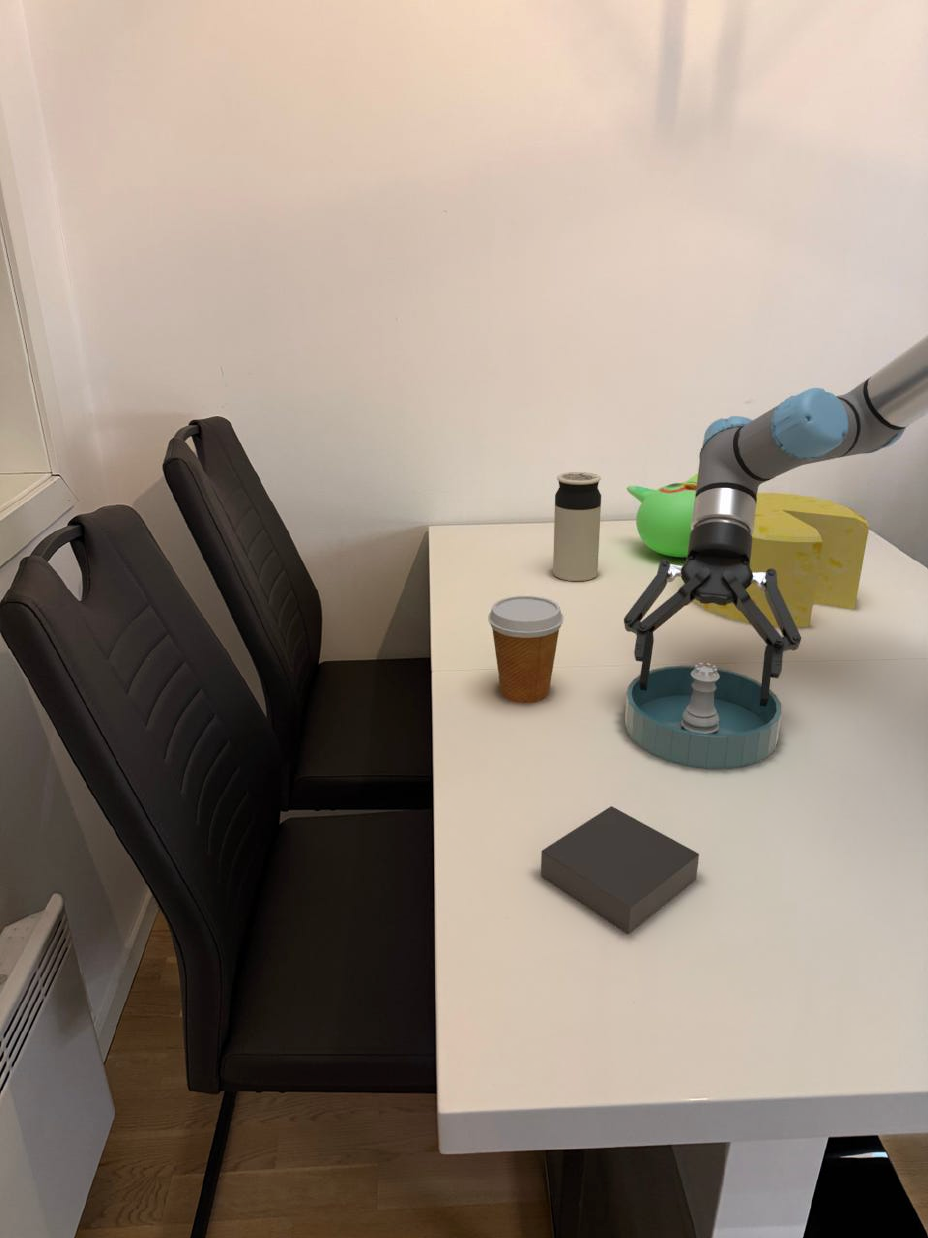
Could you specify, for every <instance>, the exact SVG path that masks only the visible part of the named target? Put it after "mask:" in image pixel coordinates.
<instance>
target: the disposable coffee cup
mask: <svg viewBox="0 0 928 1238" xmlns="http://www.w3.org/2000/svg"><path fill="white" fill-rule="evenodd" d="M490 610H491V611H490V612H489V614H488V615H487V619H488V623H489V625H490V627H491V629H492V635H493V645H494V651H495V657H496V658H495V659H496V665H497V672H498V680H499V687H500V694H501V696H502V697H503V698H504V699H506V700H508V701H510V702H514V703H518V704H534V703H538V702H540V701H543V700H545V699H546V698H547V697H548V696H549V695H550V694H549V693H550V690H551V689H550V688H551V681H552V676H553V669H554V663H555V657H556V651H557V645H558V638H559V634H560V629H561V627H562V624H563V622H564V619H565V618H564V615H563V613H562V612H561V607H560V605H559V604H558V603H557V602H556V601H554V600H552V599H549V598H545V597H542V596H535V595H515V596H509V597H505V598H502V599H500V600H497V601H495V603H493V604H492V606H491V609H490Z"/></svg>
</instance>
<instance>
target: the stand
mask: <svg viewBox="0 0 928 1238" xmlns="http://www.w3.org/2000/svg"><path fill="white" fill-rule="evenodd" d="M540 852H541V853H540V854H541V855H540V856H541V857H540V877H541V878H543V879H544V880H545V881H547V882H549V883H550V884H552V885H553V886H554V887H556V888H558V889H559V890H561V891H562V892H563V893H565V894H567V895H568V896H570V897H571V898H573V899H574V900H576V901H577V902H578V903H580V904H581V905H583V906H585V907H586V908H587V909H589V910H590V911H592V912H593V913H595V914H596V915H598V916H600V917H601V918H602V919H604V920H606V921H607V922H608V923H610V924H611V925H613V926H615V928H617V929H619V930H620V931H622V932H623V933H625V934H626V935H630V934H631V933H632V932H634V931H635V930H636V929H637V928H638V927H640V926H641V925H642V924H643V923H645V922H646V921H647V920H648V919H650V918H651V917H652V916H654V915H655V914H656V913H657V912H658V911H659V910H661V909H662V908H663V907H665V906H666V905H667V904H668V903H669V902H671V901H672V900H673V899H675V897H677V896H678V895H679V894H681V893H682V892H683V891H685V889H687V888H688V887H690V886H691V885H692V884H693V883H694V882H696V881H697V878H698V869H699V859H700V854H699V853H698V852H696V851H694V850H693V849H691V848H690V847H688V846H685V845H683V844H682V843H680V842H678V841H676V840H675V839H674V838H671V837H669V836H668V835H666V834H664V833H662V832H660V831H658V830H656V829H654V828H653V827H651V826H649V825H647V824H645V823H644V822H641V820H640V821H639V820H638V819H636V818H634V817H632V816H630V815H629V814H627V813H625V812H623V811H621V810H620V809H618V808H616V807H614V806H613V805H611V806H609V807H607V808H606V809H604V810H603V811H601V812H600V813H598V814H597V815H595V816H593V817H592V818H590V819H589V820H587V821H586V822H584V823H582V824H581V825H579V826H577V827H576V828H575V829H573V830H572V831H570V832H568V833H567V834H565V835H564V836H562V837H561V838H559V839H557V840H556V841H554V842H553V843H551V844H550V845H548V846H547V847H545V848H543V849H542V850H541V851H540Z"/></svg>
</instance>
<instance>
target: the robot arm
mask: <svg viewBox="0 0 928 1238" xmlns="http://www.w3.org/2000/svg"><path fill="white" fill-rule="evenodd" d="M926 415H928V334H927V335H926V336H924V337H923V338H922V339H920V340H919V341H917V342H916V343H915V344H913V345H912V346H910V347H909V348H908V349H906V350H905V351H903V352H902V353H901V354H900V355H898V356H896V357H895V358H894V359H893V360H891V361H890V362H888V363H887V364H886V365H884V366H883V367H882V368H880V369H879V370H877V371H876V372H875V373H873V374H872V375H871V376H870V377H869V378H867V379H865V380H863V381H862V382H861V383H859V384H858V385H857V386H855V387H854V388H853V389H851V390H850V391H848V392H847V393H844V394H840V395H835V394H834V393H832V392H829V391H826V390H825V389H824V388H821V387H812V388H808V389H806V390H804V391H802V392H800V393H798V394H796V395H791V396H788V397H787V398H786V399H784V400H783V401H781V402H780V403H779V404H778V405H776V406H775V407H773V408H771V409H770V410H768V411H765V412H764V413H763V414H761V415H759V416H758V417H756V418H754V419H752V418H748V417H745V416H739V415H730V416H729V417H728V418H721V417H720V418H718V419H717V420H714V421H713V422H712V423H710V424H709V426H708V427H707V428H706V430H705V432H704V434H703V436H704V437H703V441H702V446H701V447H700V451H699V456H698V457H699V463H698V471H697V474H698V479H697V487H696V495H695V496H696V497H695V500H694V508H693V516H692V523H691V529H692V531H691V533H690V539H689V546H688V554H687V558H686V560H685V562H684V563H683V565H677V564H673V563H671V562H670V560H668V559H667V558H665V559H661V560H660V562H659V565H658V569H657V573H656V575H655V576H654V577H653V579H651V581H650V583H649V584H648V585H647V587H646V589H645V590H644V591H643V592H642V594H641V595H640V596H639V597H638V599H637V600H636V601H635V602H634V603H633V605H632V606H631V608H630V609H629V610H628V612H627V613H626V615H625V616H624V618H623V625H624V630H625V632H628V633H633V634H635V635H636V638H635V646H634V651H633V654H634V659H635V661H636V662H641V668H640V674H639V676H640V681H639V684H640V690H645V691H647V684H648V677H649V671H651V662H652V657H653V648H654V643H655V638H654V637H655V636H654V633H655V631H656V630H658V629H659V628H660V627H662V625H664V624H665V623H666V622H667V621H668V620H669V619H671V618H672V617H673V616H675V615H676V614H677V613H678V612H679V611H681V610H682V609H683V608H684V607H686V606H689V605H690V604H691V603H692V602H694V599H696V600H698V601H700V603H704V604H708V603H715V604H718V605H724V606H726V603H727V604H730V603H733V604H734V605H735V607H736V608H737V609H738V610H739V611H741V612H742V614H743V615H744V616H745V617H746V619H747V620H748V621H749V622H750V623H749V624H750V625H751V626H752V628H753V630H755V631H756V633H757V634H758V635H759V637H760V639H762V641H764V643H765V649H764V654H763V661H762V662H763V663H762V673H761V682H760V683H761V694H760V704H759V706H767V702H768V699H769V689H771V688H770V686H771V679H779V678H780V676H781V674H782V670H783V658H784V653H785V652H786V651H796V650H798V649H799V648H800V644H801V641H802V636H801V634H800V631H799V630H798V627H796V625H795V623H794V621H793V619H792V616H791V614H790V612H789V610H788V608H787V606H786V604H785V602H784V599H783V597H782V595H781V593H780V591H779V589H778V587H777V573H776V571H775V570H774V569H768V570H767V571H766V572H752V571H751V569H750V559H751V550H752V540H753V538H752V536H751V535H752V534H753V530H754V521H755V512H756V503H757V493H758V491H759V487H760V485H761V484H763V483H766V482H769V481H770V480H771V481H772V480H774V479H775V478H776V477H778V476H780V475H782V474H785V473H787V472H789V471H793V470H794V469H796V468H798V467H801V466H806V465H811V464H814V463H820V462H825V461H831V460H835V459H839V458H845V457H851V456H855V455H862V454H863V455H864V454H873V453H875V452H878V451H880V450H882V449H884V448H887V447H891V446H892V445H894V444H895V443H896V442H897V441H898V440H900V438H901V437H902V435H903V434H904V432H905V431H906V429H907V427H909V426H910V425H911V424H914V423H915V422H917V421H918V420H920V419H922V418H923V417H925V416H926ZM677 577H680V578H681V580H682V581H683V583H684V584H683V585H682V586H680V587H679V589H678V591H676V592H675V593H674V594H673V595H672V596H670V597H669V598H668V599H667V600H666V601H664V602H663V603H662V604H660V605H659V606H658V607H657V608H656V609H655V610H653V611H652V612H651V613H650V614H648V615H647V616H646V617H645V615H646V614H647V613H648V612H649V611H650V609H651V607H652V606H653V605H654V603H655V602H656V601H657V600H658V598H659V597H660V595H661V594H662V593H663V591H664V590H665V589H666V586H667V584H668V583H672V582H674V580H675V579H676V578H677ZM751 583H755V584H757V586H758V588H759V590H761V591H765V597H766V600H767V602H768V604H769V606H770V608H771V611H772V613H773V615H774V617H775V619H776V622H777V624H778V626H779V627H778V628H779V630H780V632H781V634H780V633H779V632H778V630H777V628H776V627H774V626H773V625H772V624H771V623H770V622H769V620H768V619H767V618H766V617H765V615H764V614H763V613H762V612H761V610H760V609H759V608H758V607H757V605H756V604H755V603H754V602H753V600H752V599H751V597H750V595H749V593H748V592H747V591H746V589H747V588H748V587H749V586H750V585H751ZM644 617H645V618H644ZM643 618H644V619H643Z"/></svg>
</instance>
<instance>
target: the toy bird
mask: <svg viewBox="0 0 928 1238" xmlns="http://www.w3.org/2000/svg"><path fill="white" fill-rule="evenodd" d="M697 479H698V473H696V474H694V475H693V476H691V477H689V478H688V479H687V480H686V481H684V482H675V483H671V484H667V485H664V486H662V487H659V488H657V489H653V488H648V487H643V486H639V485H638V486H637V485H627V487H626V491H627V492H628V493H629V494H630V495H631V496H633V497H634V498H635V499H636V500H638V501H639V502H640V505H639V507H638V509H637V513H636V519H635V521H636V522H635V523H636V524H635V525H636V529H637V533H638V535H639V537H640V539H641V540H642V541H643V543H644V544H645V545H646V546H647V547H648V548H649V549H650V550H652V551H654V552H655V553H658V554H660V555H663V556H667V557H671V558H681V559H683V558H686V559H687V554H688V546H689V539H690V533H691V531H692V529H691V523H692V516H693V508H694V500H695V497H696V496H695V495H696V487H697Z"/></svg>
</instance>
